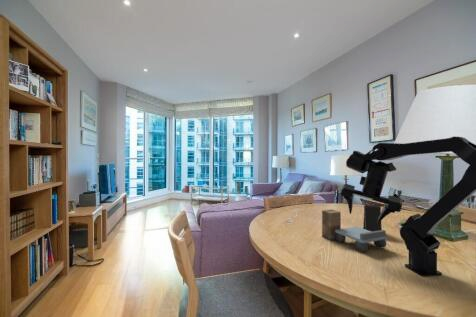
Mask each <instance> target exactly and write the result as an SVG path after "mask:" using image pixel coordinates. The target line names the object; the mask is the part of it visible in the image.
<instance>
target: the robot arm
mask: <svg viewBox="0 0 476 317" xmlns="http://www.w3.org/2000/svg"><path fill="white" fill-rule="evenodd" d="M449 152H452V153H453V154H455V155H456V156H457V157H458V158H460V159H461V160H462V161H463V162H465V163H466V164H468V167H467V169H465V171H464V173H463V175H462V177H461V179H460V180H459V181H458V182H457V183H456V184H455V185H454V186H453V187H452V188H450V189H449V190H448V191H447V192H446V193H445V194H444V195H443V196H442V197H441V198H439V199H438V201H436V202H435V203H434V204H433V205H432V206H431V207H429V209H428V210H427V211H426V212H424V213H423V214H422V215H421V214H420V213H416V214H413V215H410V216H408V217H407V219H406V221H405V222H404V223H401V224H400V226H401V227H400V229H399V236H400V237H401V239H402V240H403V242H404V244H405V247H406V249H407V251H408V263H405V264H404V267H406V269H409V270H410V271H413V272H414V273H416V274H417V275H419V276H422V277H425V276H441V275H443V273H442V271H440V270H438V253H437V252H436V251H435V250H438V249H439V247H440V245H441V242H440V241H439V239H437V238H436V236H434V232H436V229H437V227H438V225H439V224H440V223H441V222H442V221H443V220H445V219H446V218H447V217H448V216H449V215H450V214H451V213H452V212H454V211H455V210H456V209H457V208H458V207H460V206H461V205H462V204H463V203H464V202H466V200H468V199H469V198H470V197H472V196H473V195H474V194H475V193H476V143H473V142H471V141H469V140H468V139H467V138H466V137H463V136H450V137H448V138H439V139H431V140H423V141H416V142H408V143H395V142H393V143H392V142H391V143H390V142H377V143H375V144H374V145H373V147H372V149H371V150H369V151H368V152H366V153H363V152H361V151H359V150H353V151H352V153H351V154H350V155H349V157H348V158H347V159H346V161H345V162H346V167H347V168H348V169H351V170H353V171H355V172H357V173H361V174H365V173H366V176H362V175H361V176H360V180H359V185H360V186H361V185H362V189H361V190H358V189H355V188H356V186H355V185H351V184H348V183H344V184H343V185H342V187H341V190H340V196H341V197H343V199H345V200H346V202H347V205H348V210H349V214H350V215H351V214H352V212H353V204H354V196H357V197H360V198H364V199H367V200H371V201H375V202H377V203H381V204H384V205H383V208H381V214H380V216H379V218H378V223H379V222H380V221H381V222H382V220H383V219H384V218H385V217H387V216H389V214H391V213H393V214H395V213H396V212H397V213H401V210H402V207H403V200H402V198H400V197H399V196H398V197H396V196H394V195H388V196H387V197H384V196H381V194H382V191H383V188H384V185H385V182H386V179H387V176H388V173H390V172H395V171H397V168H396V166H395V165H394V163H393V162H388V163H386V162H384V161H393V160H397V159H401V158H404V157H407V156H414V155H415V156H416V155H426V154H429V155H430V154H437V153H449Z"/></svg>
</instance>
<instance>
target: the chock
mask: <svg viewBox="0 0 476 317" xmlns="http://www.w3.org/2000/svg"><path fill="white" fill-rule="evenodd" d="M341 217H342V216H341V211H338V210H334V209H324V210H321V237H322V238H324V239H326V240H328V241H330V242H333V241H336V239H335V233H336V232H335V230H337V229H342V228H341V221H342V219H341Z"/></svg>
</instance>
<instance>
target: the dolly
mask: <svg viewBox="0 0 476 317" xmlns="http://www.w3.org/2000/svg"><path fill="white" fill-rule="evenodd" d="M386 231H387V230H383V229H382V230H379V231H373V232H371V231H368V230H365V229H363V227H359V226H350V227H344V228H341V229H337V230H335V232H336V233H335V239H336V240H335V241H336V242H337V243H344V242H345V241H346V238H348V239H349V238H350V240H354V241H355V243H354V245H355V248H356V250H357V251H358V252H360V253H364V252H367V251H368V249H369V245H368V243H372V242H373V244H374V246H375V247H376V248H377V249H383V248H386V246H387V240H386V239H387V238H386Z"/></svg>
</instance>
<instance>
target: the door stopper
mask: <svg viewBox="0 0 476 317" xmlns="http://www.w3.org/2000/svg"><path fill="white" fill-rule="evenodd" d="M381 211H382V208H381V205H377V204H376V205H375V204H364V205H363V225H362V229H365V230H368V231H371V232H373V231H379V230H383V229H382V220H381V221H380V222H379V223H378V218H379V216H380V214H381Z"/></svg>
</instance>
